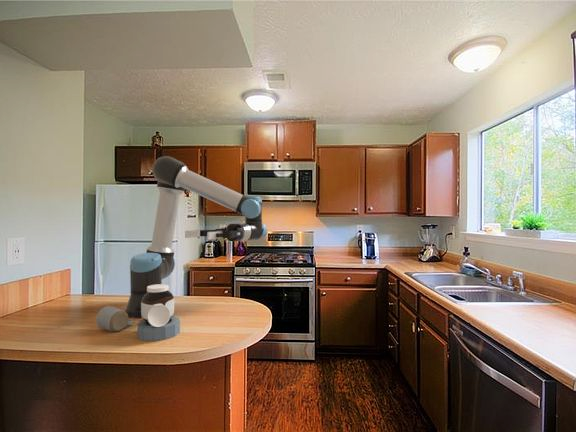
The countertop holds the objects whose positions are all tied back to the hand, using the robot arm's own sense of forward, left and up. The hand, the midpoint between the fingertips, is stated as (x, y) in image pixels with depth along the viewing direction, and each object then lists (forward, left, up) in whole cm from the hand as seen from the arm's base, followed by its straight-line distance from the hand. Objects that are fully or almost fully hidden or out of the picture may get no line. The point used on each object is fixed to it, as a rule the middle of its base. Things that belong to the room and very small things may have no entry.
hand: (196, 235), depth 125 cm
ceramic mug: (-15, -23, -32) cm, 42 cm away
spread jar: (+3, -17, -28) cm, 33 cm away
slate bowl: (+2, -17, -32) cm, 36 cm away
